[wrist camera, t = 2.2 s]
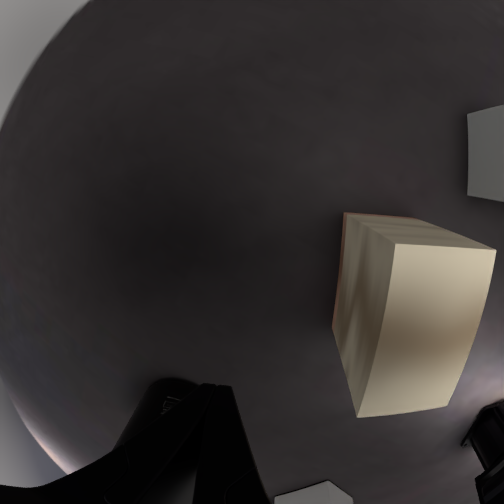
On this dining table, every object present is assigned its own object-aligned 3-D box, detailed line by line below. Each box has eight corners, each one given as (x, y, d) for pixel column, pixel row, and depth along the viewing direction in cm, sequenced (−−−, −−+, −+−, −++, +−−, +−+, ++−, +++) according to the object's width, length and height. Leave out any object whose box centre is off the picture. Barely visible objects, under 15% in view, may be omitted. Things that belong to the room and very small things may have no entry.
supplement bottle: (132, 387, 23) (69, 484, 12) (190, 367, 22) (134, 490, 10) (176, 436, 24) (138, 533, 13) (235, 422, 23) (211, 539, 12)
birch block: (396, 326, 20) (446, 405, 11) (331, 327, 20) (356, 417, 11) (413, 217, 18) (496, 250, 9) (343, 212, 18) (395, 243, 9)
